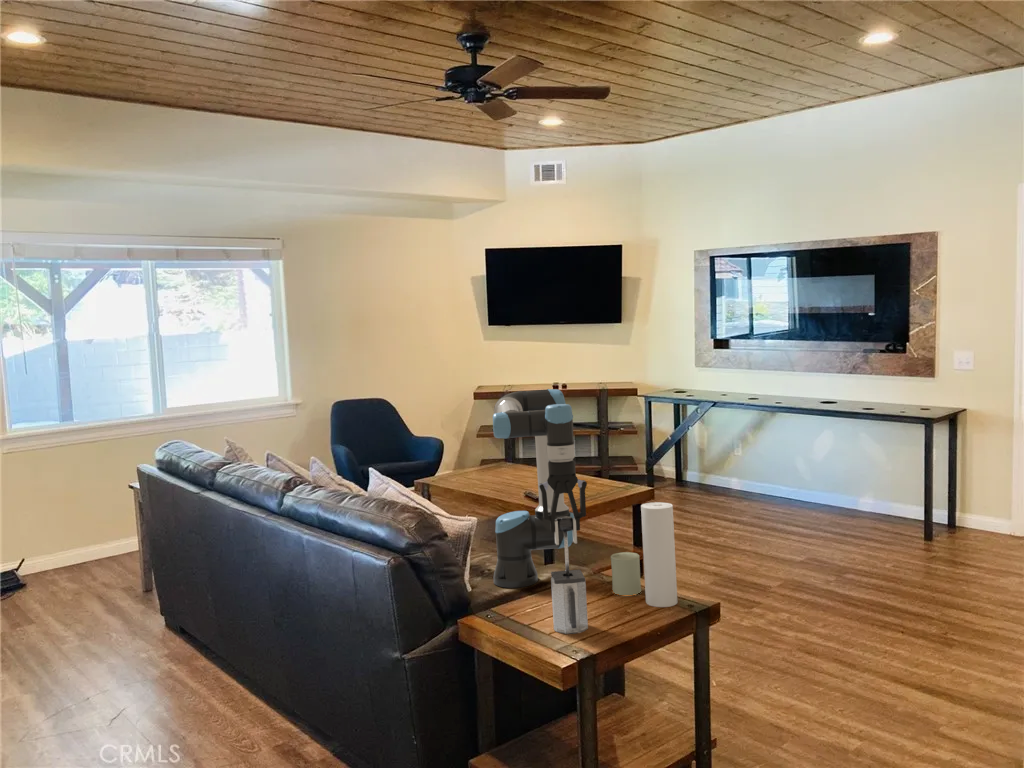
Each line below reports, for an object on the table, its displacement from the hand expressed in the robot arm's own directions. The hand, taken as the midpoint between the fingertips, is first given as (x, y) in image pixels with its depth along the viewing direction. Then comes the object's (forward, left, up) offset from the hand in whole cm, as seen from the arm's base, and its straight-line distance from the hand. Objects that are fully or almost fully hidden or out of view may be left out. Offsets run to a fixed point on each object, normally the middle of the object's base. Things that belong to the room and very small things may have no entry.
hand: (566, 542), depth 214 cm
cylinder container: (-15, +30, -24) cm, 41 cm away
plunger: (0, 0, -13) cm, 13 cm away
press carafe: (+1, 0, -24) cm, 24 cm away
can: (-27, +22, -24) cm, 43 cm away
